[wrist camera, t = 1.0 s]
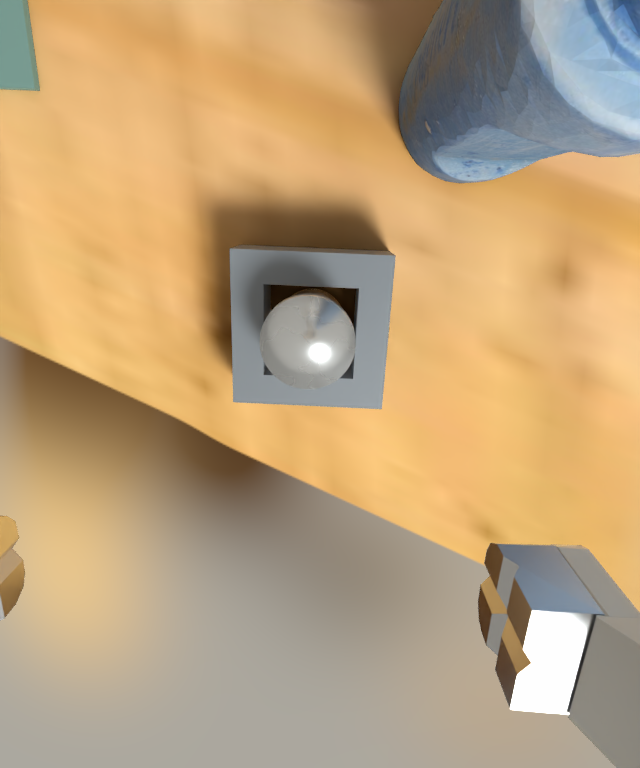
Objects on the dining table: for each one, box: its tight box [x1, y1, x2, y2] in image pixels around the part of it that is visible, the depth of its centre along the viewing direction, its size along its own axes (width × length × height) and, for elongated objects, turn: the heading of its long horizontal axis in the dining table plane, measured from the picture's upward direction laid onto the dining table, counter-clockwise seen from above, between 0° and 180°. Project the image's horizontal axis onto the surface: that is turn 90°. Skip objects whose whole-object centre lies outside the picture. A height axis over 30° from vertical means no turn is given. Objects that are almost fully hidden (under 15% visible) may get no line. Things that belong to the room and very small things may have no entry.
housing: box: [230, 245, 395, 409], centre depth 35 cm, size 11×11×4 cm
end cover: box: [259, 289, 356, 389], centre depth 34 cm, size 6×6×7 cm
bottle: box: [399, 0, 640, 183], centre depth 18 cm, size 10×10×30 cm
